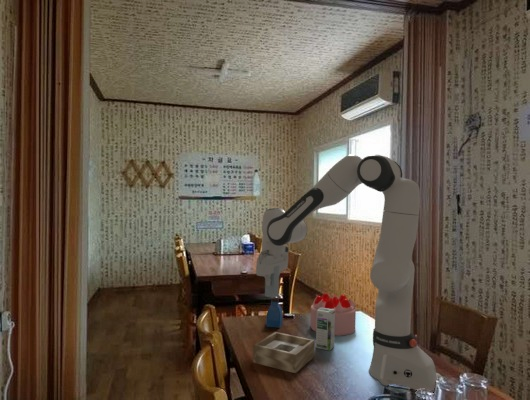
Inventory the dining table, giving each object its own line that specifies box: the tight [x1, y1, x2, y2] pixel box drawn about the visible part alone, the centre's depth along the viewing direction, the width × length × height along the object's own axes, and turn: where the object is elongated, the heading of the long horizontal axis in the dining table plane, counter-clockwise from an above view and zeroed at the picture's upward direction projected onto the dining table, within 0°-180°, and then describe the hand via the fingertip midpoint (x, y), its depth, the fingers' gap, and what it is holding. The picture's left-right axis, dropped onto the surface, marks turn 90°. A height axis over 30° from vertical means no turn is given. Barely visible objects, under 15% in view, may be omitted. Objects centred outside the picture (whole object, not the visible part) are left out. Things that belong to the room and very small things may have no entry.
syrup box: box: [315, 308, 335, 352], centre depth 150 cm, size 6×6×14 cm
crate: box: [252, 331, 316, 374], centre depth 137 cm, size 16×16×6 cm
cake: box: [309, 292, 357, 337], centre depth 172 cm, size 20×20×14 cm
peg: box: [264, 265, 280, 299], centre depth 154 cm, size 4×4×12 cm
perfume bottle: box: [265, 297, 284, 329], centre depth 175 cm, size 6×6×12 cm
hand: (272, 284), depth 153 cm, fingers closed on peg, 4 cm apart
